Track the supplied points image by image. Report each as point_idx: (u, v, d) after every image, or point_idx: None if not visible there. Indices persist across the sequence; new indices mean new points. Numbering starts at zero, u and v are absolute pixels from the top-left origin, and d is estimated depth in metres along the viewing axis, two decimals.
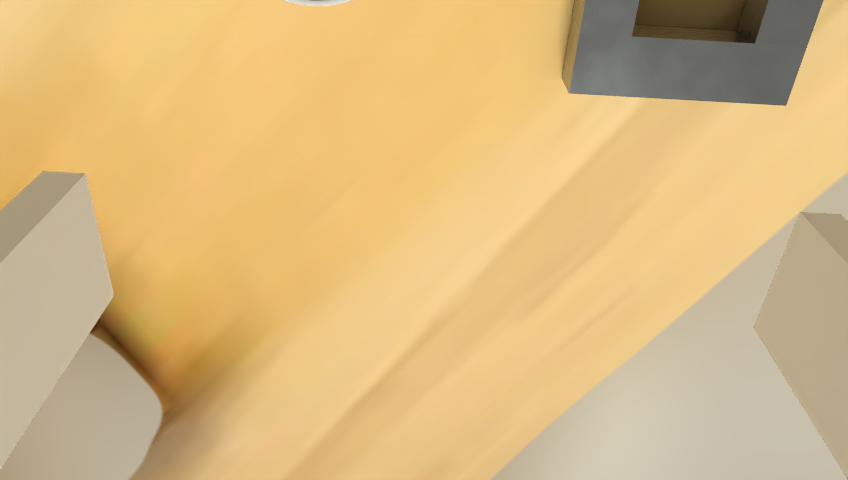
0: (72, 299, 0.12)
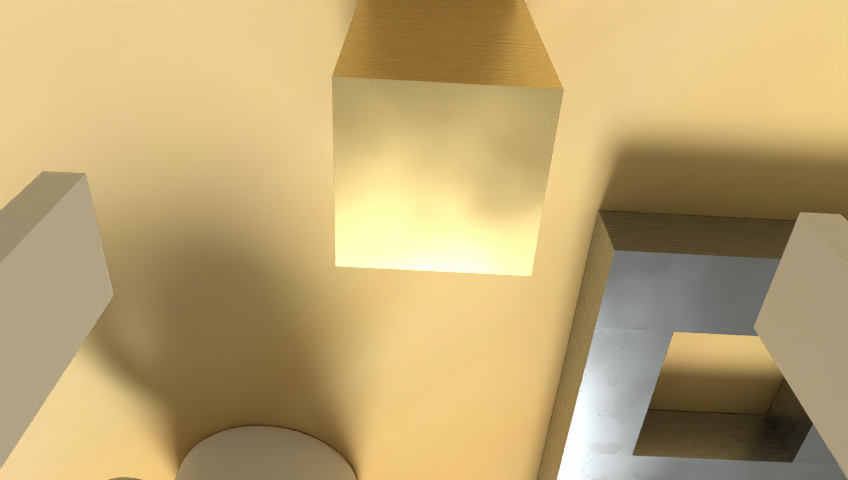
0: (72, 299, 0.12)
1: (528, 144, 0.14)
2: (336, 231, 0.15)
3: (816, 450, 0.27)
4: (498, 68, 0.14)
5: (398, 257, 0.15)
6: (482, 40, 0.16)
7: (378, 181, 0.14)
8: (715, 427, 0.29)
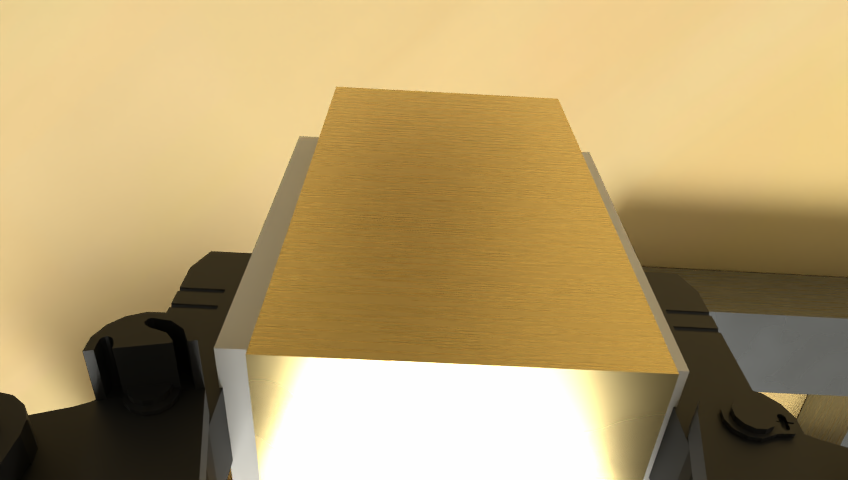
0: None
1: (607, 450, 0.08)
2: None
3: None
4: (551, 308, 0.08)
5: None
6: (516, 224, 0.10)
7: None
8: None
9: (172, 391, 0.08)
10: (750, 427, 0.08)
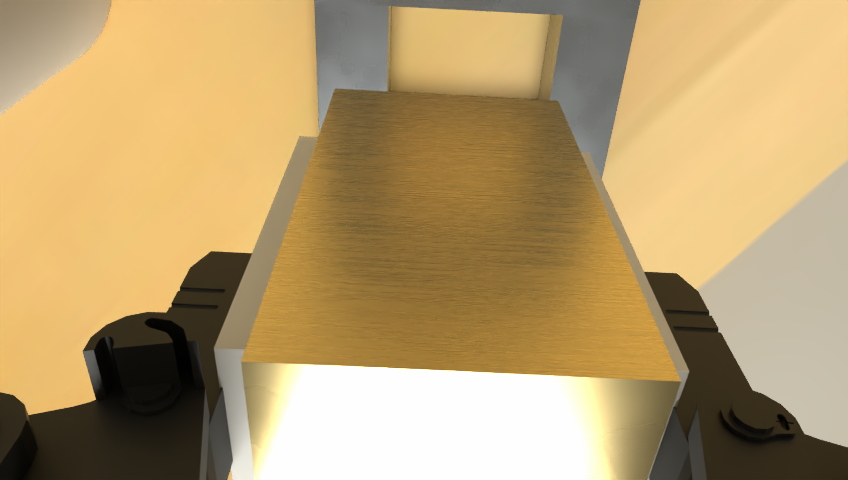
0: None
1: (609, 458, 0.08)
2: None
3: None
4: (550, 313, 0.08)
5: None
6: (515, 228, 0.09)
7: None
8: None
9: (172, 391, 0.08)
10: (750, 427, 0.08)
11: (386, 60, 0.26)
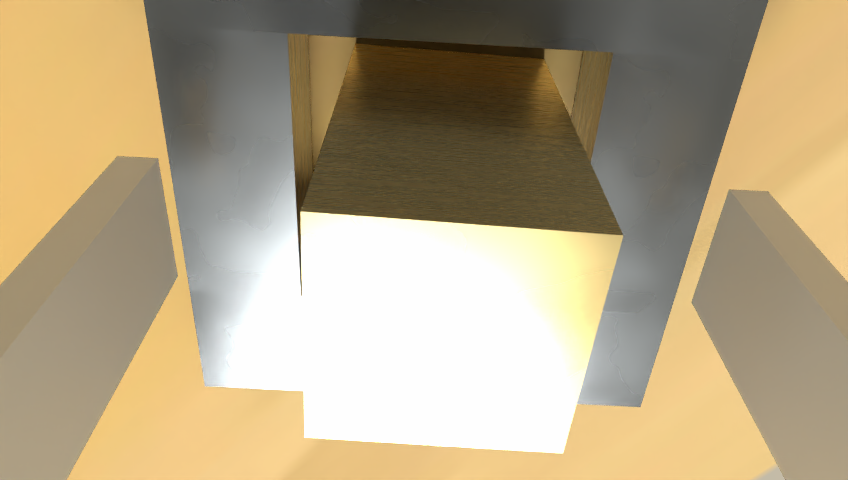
0: (146, 277, 0.13)
1: (570, 301, 0.10)
2: (305, 398, 0.11)
3: None
4: (530, 193, 0.10)
5: (388, 429, 0.12)
6: (505, 142, 0.12)
7: (363, 341, 0.11)
8: None
9: None
10: None
11: (290, 130, 0.15)
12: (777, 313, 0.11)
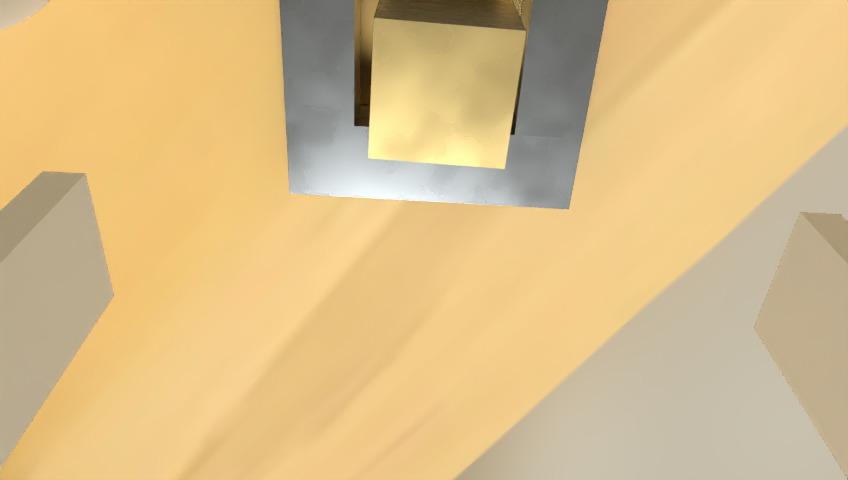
0: (72, 299, 0.12)
1: (503, 69, 0.21)
2: (370, 131, 0.22)
3: None
4: (484, 18, 0.21)
5: (412, 152, 0.22)
6: (474, 4, 0.23)
7: (401, 94, 0.21)
8: None
9: None
10: None
11: (353, 13, 0.25)
12: None
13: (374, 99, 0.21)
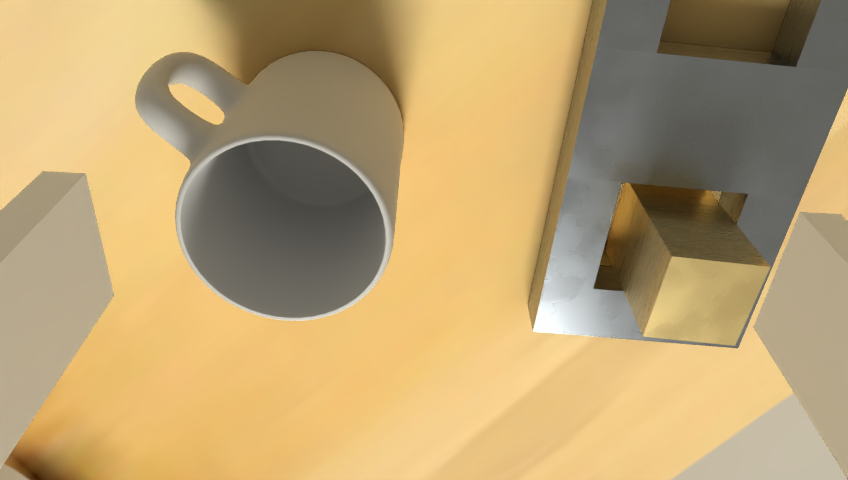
0: (72, 299, 0.12)
1: (749, 288, 0.31)
2: (649, 320, 0.32)
3: (816, 50, 0.31)
4: (735, 252, 0.31)
5: (674, 334, 0.32)
6: (716, 231, 0.33)
7: (676, 300, 0.31)
8: (727, 51, 0.33)
9: None
10: None
11: (611, 218, 0.35)
12: None
13: (657, 302, 0.31)
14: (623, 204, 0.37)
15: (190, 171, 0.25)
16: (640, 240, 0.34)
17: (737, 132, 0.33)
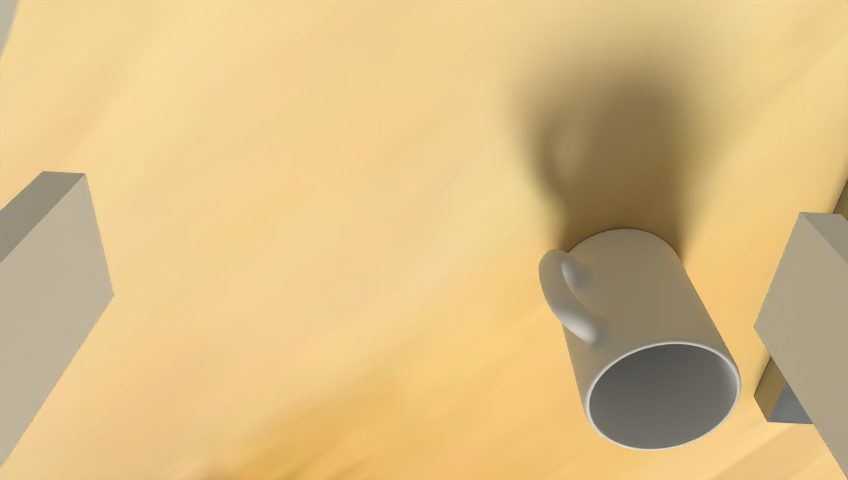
0: (72, 299, 0.12)
1: None
2: None
3: None
4: None
5: None
6: None
7: None
8: None
9: None
10: None
11: None
12: None
13: None
14: None
15: (608, 362, 0.35)
16: None
17: None
